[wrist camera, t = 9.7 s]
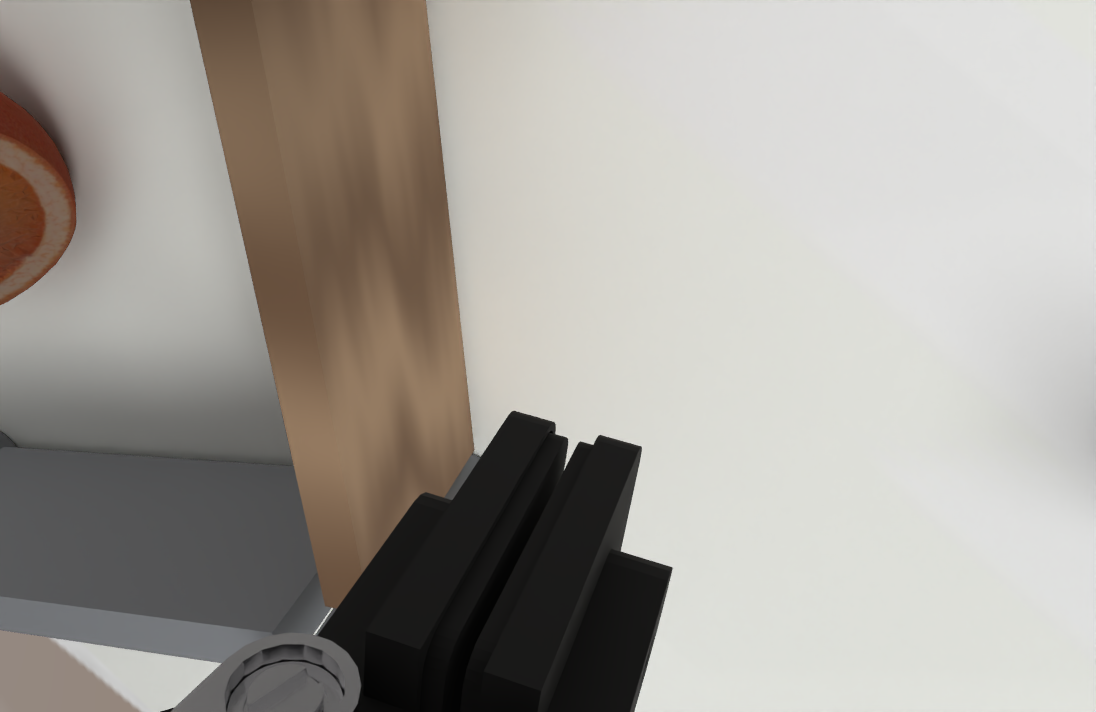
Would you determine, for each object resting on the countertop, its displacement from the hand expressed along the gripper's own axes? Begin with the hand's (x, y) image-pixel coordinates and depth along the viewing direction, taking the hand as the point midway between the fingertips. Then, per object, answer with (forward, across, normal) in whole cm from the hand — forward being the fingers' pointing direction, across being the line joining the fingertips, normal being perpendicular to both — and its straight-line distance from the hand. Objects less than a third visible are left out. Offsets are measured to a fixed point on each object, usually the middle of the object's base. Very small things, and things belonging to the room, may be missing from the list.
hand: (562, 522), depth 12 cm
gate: (+12, +7, 0) cm, 14 cm away
